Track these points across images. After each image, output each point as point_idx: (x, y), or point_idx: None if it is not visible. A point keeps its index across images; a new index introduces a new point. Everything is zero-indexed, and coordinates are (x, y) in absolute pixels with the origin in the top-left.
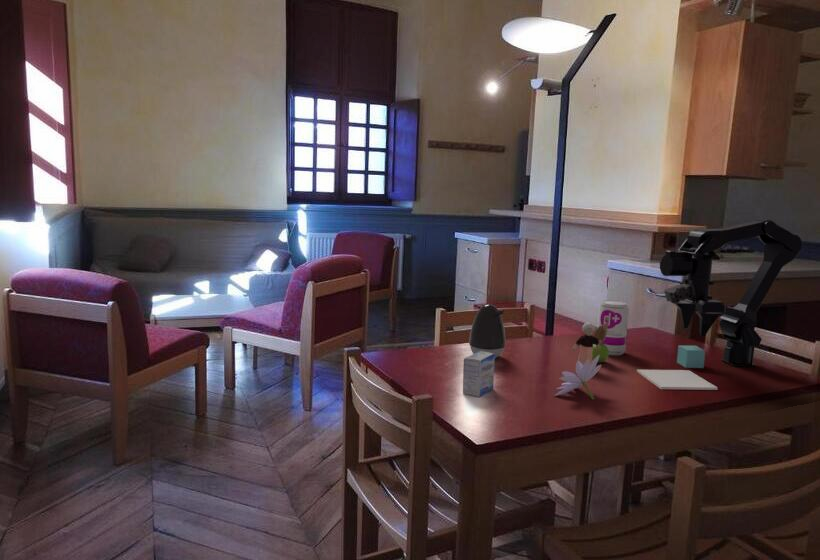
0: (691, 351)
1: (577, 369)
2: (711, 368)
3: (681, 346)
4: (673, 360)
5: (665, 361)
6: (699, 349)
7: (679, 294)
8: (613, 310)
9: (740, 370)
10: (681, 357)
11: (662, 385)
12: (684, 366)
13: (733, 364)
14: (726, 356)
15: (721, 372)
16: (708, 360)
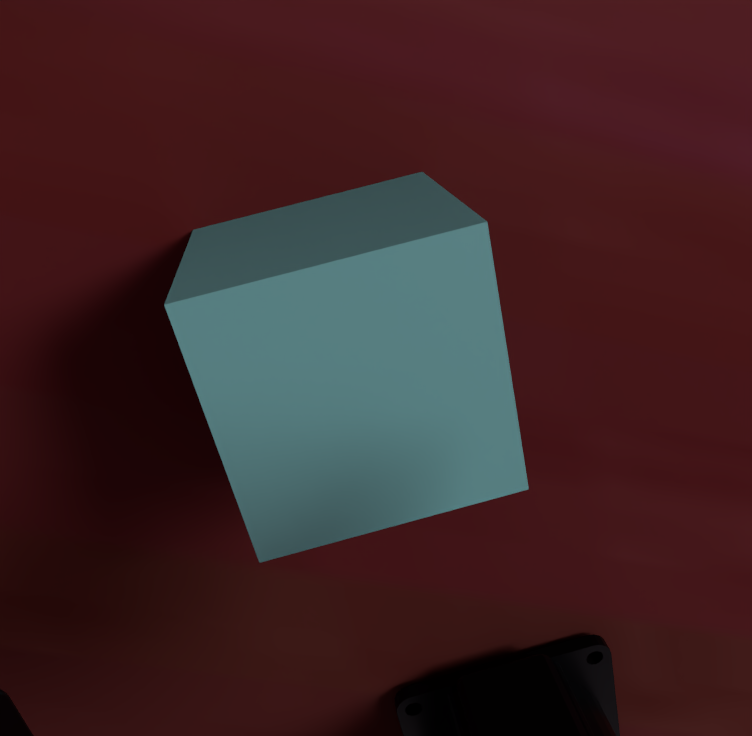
0: (192, 365)
1: None
2: None
3: (424, 259)
4: (508, 148)
5: (433, 15)
6: (295, 498)
7: None
8: None
9: (286, 713)
10: (326, 218)
11: None
12: (225, 223)
13: (404, 699)
14: (513, 702)
15: (138, 563)
16: (579, 527)
